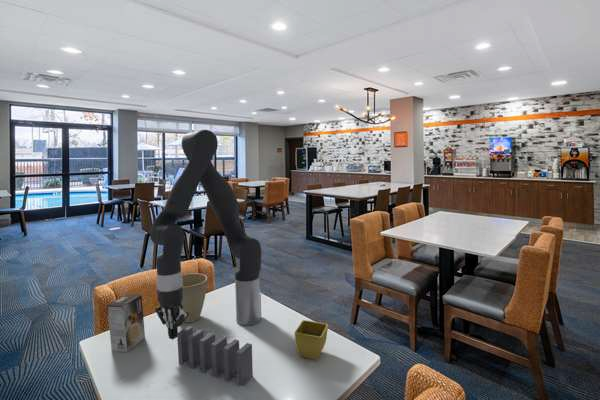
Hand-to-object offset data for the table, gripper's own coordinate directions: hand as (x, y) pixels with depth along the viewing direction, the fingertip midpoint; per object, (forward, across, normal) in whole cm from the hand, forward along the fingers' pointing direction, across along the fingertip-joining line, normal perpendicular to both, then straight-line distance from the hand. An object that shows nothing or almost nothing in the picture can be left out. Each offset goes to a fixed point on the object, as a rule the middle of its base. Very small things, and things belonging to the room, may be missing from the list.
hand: (173, 337), depth 107 cm
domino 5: (+6, -24, 0) cm, 24 cm away
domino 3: (+6, -15, 0) cm, 16 cm away
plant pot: (+6, +15, -21) cm, 26 cm away
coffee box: (+6, +19, +2) cm, 20 cm away
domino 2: (+6, -10, 0) cm, 12 cm away
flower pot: (+6, -39, -20) cm, 45 cm away
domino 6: (+6, -28, 0) cm, 29 cm away
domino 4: (+6, -19, 0) cm, 20 cm away
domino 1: (+6, -6, 0) cm, 8 cm away
